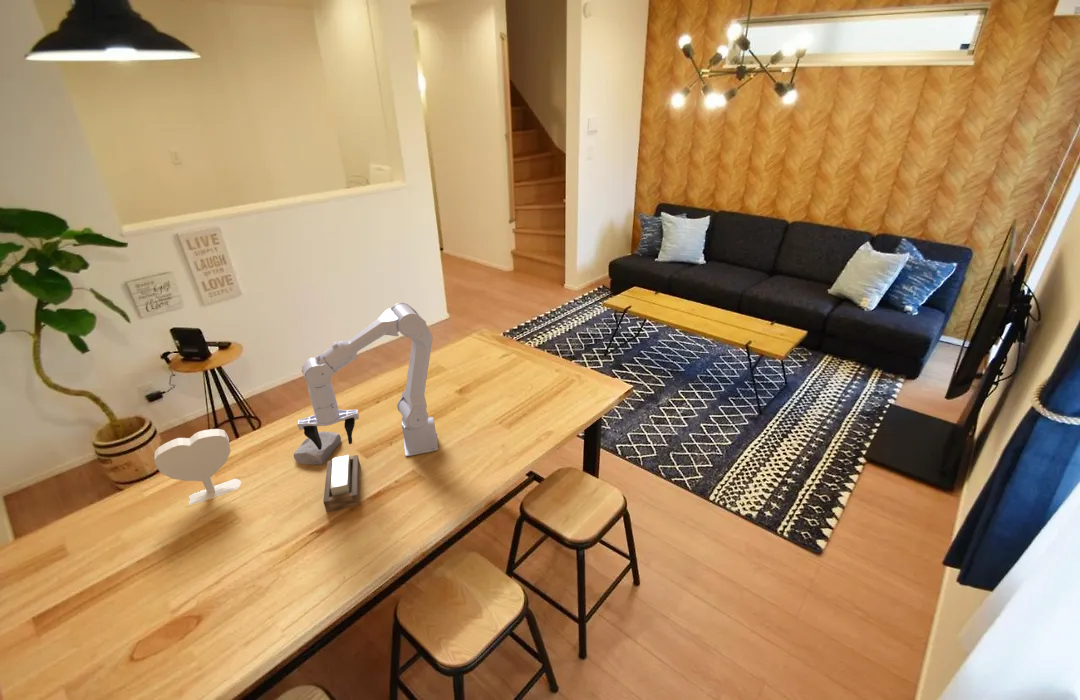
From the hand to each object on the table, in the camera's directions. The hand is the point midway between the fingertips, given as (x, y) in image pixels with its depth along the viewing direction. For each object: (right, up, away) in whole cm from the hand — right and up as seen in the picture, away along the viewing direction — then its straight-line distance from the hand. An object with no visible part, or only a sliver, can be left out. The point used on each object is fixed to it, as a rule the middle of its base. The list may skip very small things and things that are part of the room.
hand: (335, 444), depth 131 cm
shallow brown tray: (+2, -11, 0) cm, 12 cm away
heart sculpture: (-32, -13, -1) cm, 35 cm away
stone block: (-11, -5, +13) cm, 18 cm away
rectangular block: (+2, -10, -1) cm, 11 cm away
